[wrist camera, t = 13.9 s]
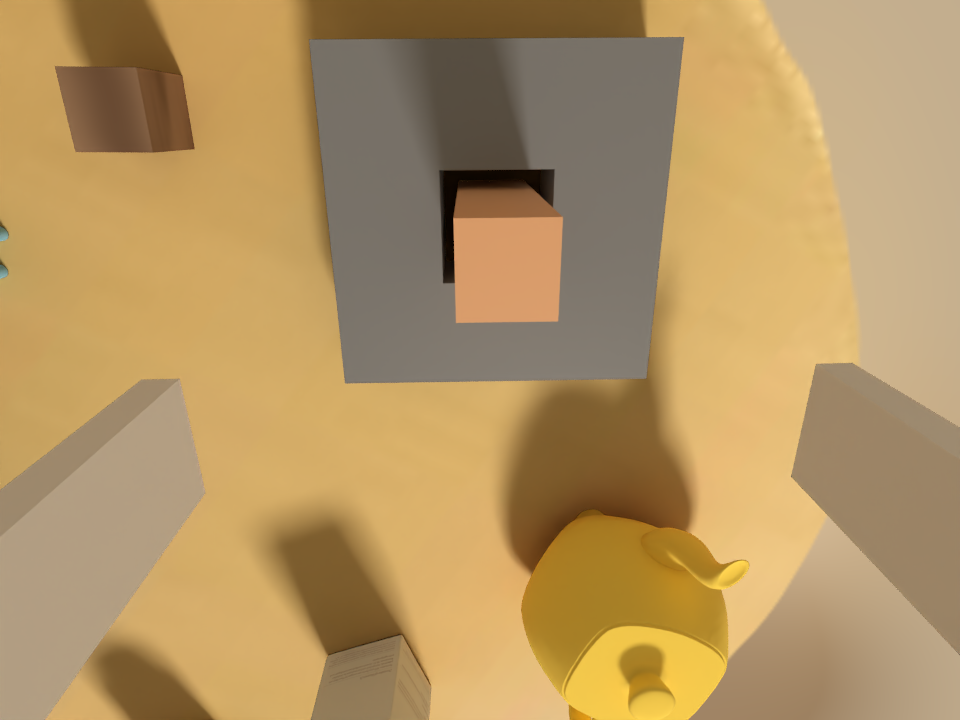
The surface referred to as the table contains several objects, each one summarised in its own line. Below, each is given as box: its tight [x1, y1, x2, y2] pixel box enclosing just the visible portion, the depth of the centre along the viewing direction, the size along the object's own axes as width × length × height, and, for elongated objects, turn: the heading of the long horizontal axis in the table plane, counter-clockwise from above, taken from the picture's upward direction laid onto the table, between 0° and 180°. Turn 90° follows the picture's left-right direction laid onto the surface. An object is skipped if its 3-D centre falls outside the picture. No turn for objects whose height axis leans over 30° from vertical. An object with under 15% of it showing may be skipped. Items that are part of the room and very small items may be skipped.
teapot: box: [521, 509, 749, 720], centre depth 41 cm, size 14×20×13 cm
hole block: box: [309, 37, 684, 383], centre depth 34 cm, size 18×18×6 cm
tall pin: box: [453, 180, 563, 323], centre depth 29 cm, size 4×4×16 cm
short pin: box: [55, 66, 194, 152], centre depth 32 cm, size 4×4×5 cm
